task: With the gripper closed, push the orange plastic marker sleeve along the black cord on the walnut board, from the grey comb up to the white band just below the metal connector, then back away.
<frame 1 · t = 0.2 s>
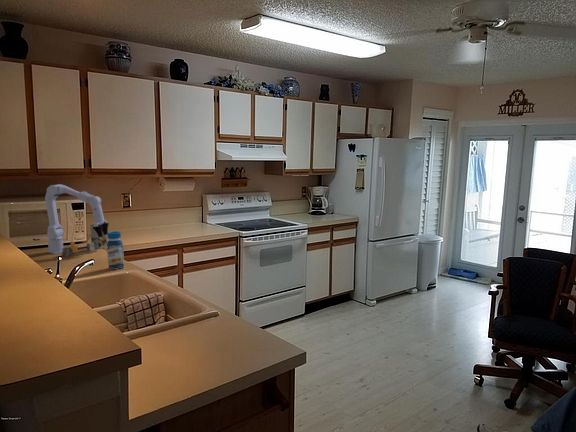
hand: (103, 235, 278), 11 cm above the counter, tool pointing down, fingers open, 7 cm apart
cord board: (79, 253, 275), on the counter
blue pill bottle: (116, 268, 239), on the counter
coffee box: (100, 247, 293), on the counter
marker sleeve: (73, 247, 272), point 5 cm above the counter, slide at 0.0 cm
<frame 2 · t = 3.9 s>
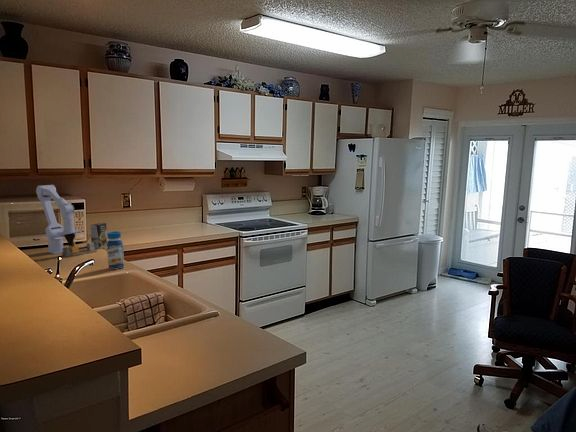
hand: (70, 245, 270), 6 cm above the counter, tool pointing down, fingers closed
marker sleeve: (73, 246, 272), point 5 cm above the counter, slide at 0.4 cm, touching gripper
everything else where it was.
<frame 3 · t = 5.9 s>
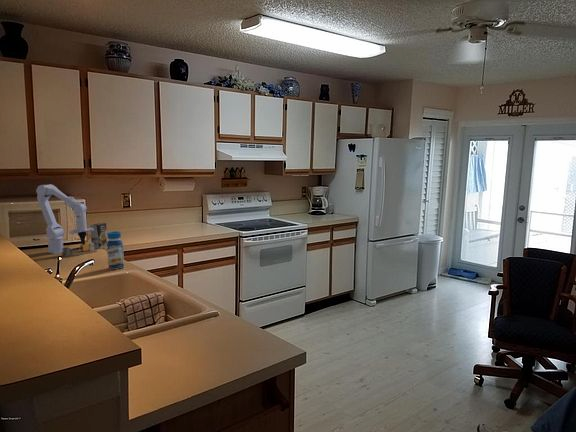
hand: (83, 243, 277), 6 cm above the counter, tool pointing down, fingers closed, pressing on marker sleeve
marker sleeve: (84, 244, 277), point 5 cm above the counter, slide at 7.4 cm, touching gripper
everything else where it was.
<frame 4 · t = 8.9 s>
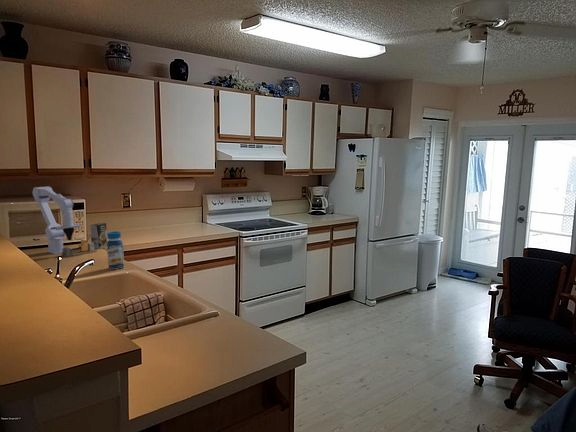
hand: (69, 240, 272), 9 cm above the counter, tool pointing down, fingers closed
marker sleeve: (83, 245, 277), point 5 cm above the counter, slide at 6.6 cm
everything else where it was.
at the end: marker sleeve slide at 6.6 cm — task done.
